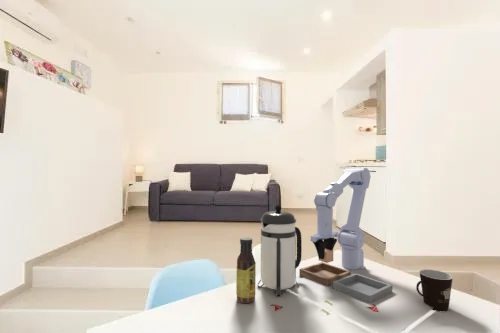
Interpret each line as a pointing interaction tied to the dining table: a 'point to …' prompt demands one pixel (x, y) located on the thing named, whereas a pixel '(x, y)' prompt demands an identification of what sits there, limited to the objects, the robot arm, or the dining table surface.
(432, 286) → the coffee mug
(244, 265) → the sauce bottle
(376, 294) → the grey bin
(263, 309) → the dining table surface
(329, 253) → the terracotta block
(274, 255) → the coffee press
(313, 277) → the walnut crate
